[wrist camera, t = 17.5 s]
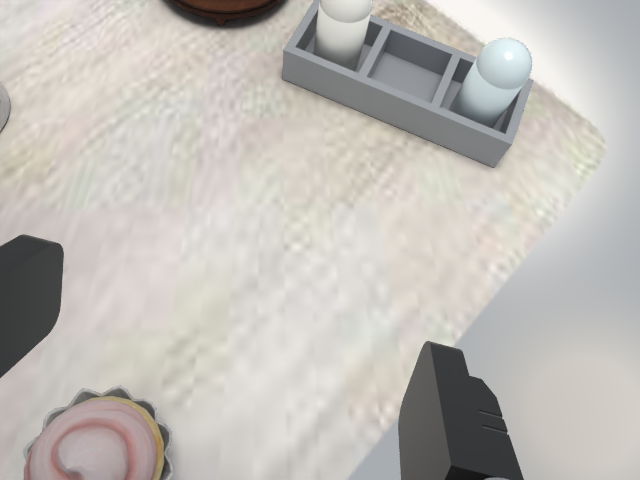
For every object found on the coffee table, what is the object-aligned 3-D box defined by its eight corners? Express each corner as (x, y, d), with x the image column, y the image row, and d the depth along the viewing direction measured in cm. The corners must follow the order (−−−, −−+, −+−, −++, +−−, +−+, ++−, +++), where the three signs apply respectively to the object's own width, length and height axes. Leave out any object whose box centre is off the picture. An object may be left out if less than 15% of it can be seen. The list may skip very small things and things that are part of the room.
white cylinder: (305, 66, 52) (313, -12, 43) (323, 34, 54) (335, -48, 45) (348, 84, 51) (365, 9, 43) (366, 51, 53) (385, -28, 45)
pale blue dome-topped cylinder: (443, 124, 51) (480, 57, 42) (456, 88, 52) (495, 17, 44) (488, 142, 50) (535, 79, 42) (500, 106, 52) (548, 38, 43)
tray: (282, 78, 52) (283, 49, 48) (314, 24, 55) (318, -7, 52) (493, 167, 50) (511, 144, 47) (515, 106, 54) (533, 80, 50)
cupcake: (18, 474, 37) (-63, 478, 28) (119, 368, 40) (76, 341, 31) (115, 569, 35) (62, 607, 26) (212, 451, 39) (195, 447, 30)
